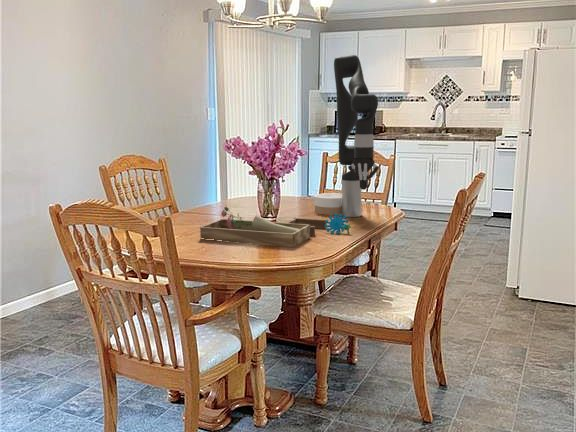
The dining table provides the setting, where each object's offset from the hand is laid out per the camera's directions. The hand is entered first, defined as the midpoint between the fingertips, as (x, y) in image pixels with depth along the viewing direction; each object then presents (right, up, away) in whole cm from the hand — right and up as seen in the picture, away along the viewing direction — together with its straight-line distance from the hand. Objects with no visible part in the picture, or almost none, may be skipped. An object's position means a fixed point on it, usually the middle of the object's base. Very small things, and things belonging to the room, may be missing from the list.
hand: (363, 189), depth 230 cm
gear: (-10, -18, +8) cm, 22 cm away
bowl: (-8, -9, +55) cm, 56 cm away
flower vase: (-42, -20, +1) cm, 46 cm away
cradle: (-23, -17, +13) cm, 31 cm away
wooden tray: (-43, -20, 0) cm, 48 cm away
